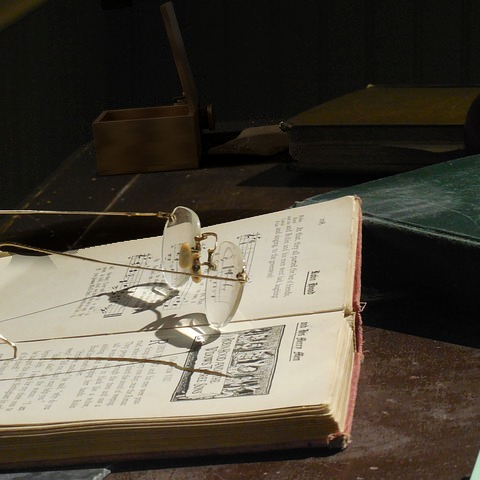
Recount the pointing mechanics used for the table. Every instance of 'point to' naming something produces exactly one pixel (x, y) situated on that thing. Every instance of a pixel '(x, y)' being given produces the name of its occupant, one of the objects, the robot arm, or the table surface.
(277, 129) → the stone
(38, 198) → the table surface
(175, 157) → the chest
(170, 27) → the lid
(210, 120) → the camera
